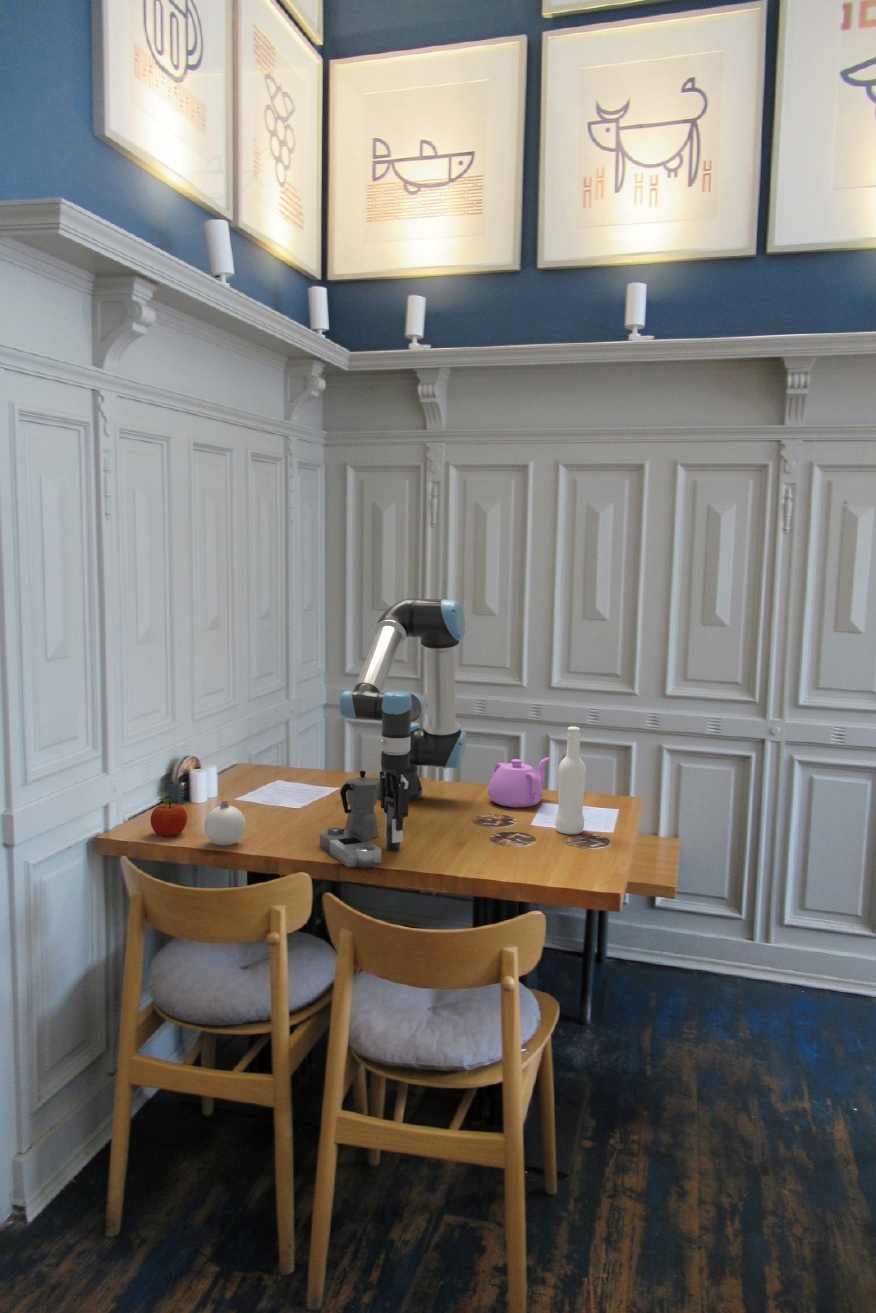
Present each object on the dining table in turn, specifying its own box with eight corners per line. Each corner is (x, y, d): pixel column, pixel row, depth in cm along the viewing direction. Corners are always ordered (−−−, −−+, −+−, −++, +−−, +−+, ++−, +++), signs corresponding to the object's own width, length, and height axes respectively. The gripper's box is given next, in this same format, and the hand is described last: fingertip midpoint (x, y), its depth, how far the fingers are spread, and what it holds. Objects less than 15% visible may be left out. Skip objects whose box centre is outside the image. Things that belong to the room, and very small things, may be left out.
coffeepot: (363, 826, 269) (364, 763, 267) (389, 832, 264) (391, 769, 262) (327, 838, 256) (328, 773, 254) (353, 845, 251) (355, 779, 249)
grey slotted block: (347, 839, 256) (348, 825, 256) (384, 865, 237) (385, 849, 236) (316, 844, 252) (316, 829, 251) (351, 870, 232) (352, 854, 232)
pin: (397, 844, 253) (398, 793, 251) (406, 850, 248) (407, 798, 247) (379, 847, 250) (381, 795, 249) (388, 853, 246) (390, 800, 244)
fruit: (173, 842, 250) (173, 805, 249) (143, 837, 253) (143, 800, 252) (194, 832, 259) (194, 796, 258) (165, 827, 262) (165, 792, 261)
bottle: (586, 828, 273) (591, 726, 270) (580, 836, 266) (586, 730, 262) (558, 825, 276) (563, 723, 272) (552, 832, 268) (557, 728, 265)
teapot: (569, 805, 297) (572, 762, 296) (515, 815, 285) (517, 770, 284) (525, 790, 315) (526, 749, 314) (472, 798, 303) (473, 755, 302)
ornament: (225, 853, 242) (225, 807, 241) (196, 845, 248) (196, 800, 246) (253, 843, 251) (253, 798, 249) (224, 836, 256) (224, 792, 255)
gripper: (368, 746, 252) (366, 832, 254) (397, 759, 237) (395, 850, 240) (393, 744, 255) (391, 829, 258) (423, 757, 241) (421, 846, 244)
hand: (393, 839), depth 249 cm, fingers closed on pin, 4 cm apart
